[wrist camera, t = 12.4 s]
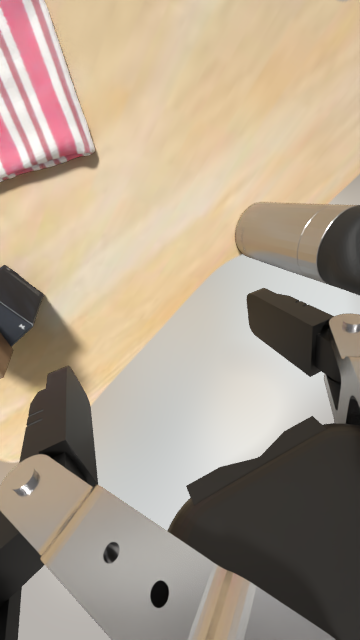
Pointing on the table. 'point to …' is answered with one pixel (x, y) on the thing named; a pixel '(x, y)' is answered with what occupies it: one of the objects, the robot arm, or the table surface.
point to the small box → (17, 305)
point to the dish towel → (36, 94)
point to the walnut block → (4, 355)
